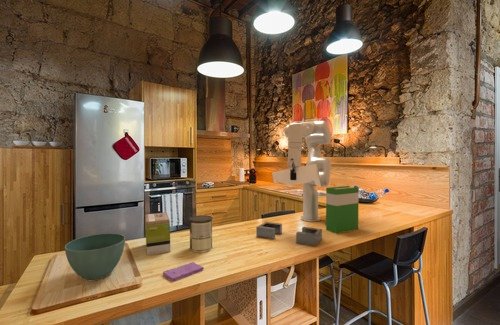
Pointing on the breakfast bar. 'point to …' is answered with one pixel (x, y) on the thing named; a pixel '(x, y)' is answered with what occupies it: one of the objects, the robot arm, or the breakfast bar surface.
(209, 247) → the coffee can
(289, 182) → the cream elongated piece
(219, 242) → the breakfast bar surface
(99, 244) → the green round bowl
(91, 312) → the breakfast bar surface
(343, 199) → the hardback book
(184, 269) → the sponges
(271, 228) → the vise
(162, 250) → the tea box
